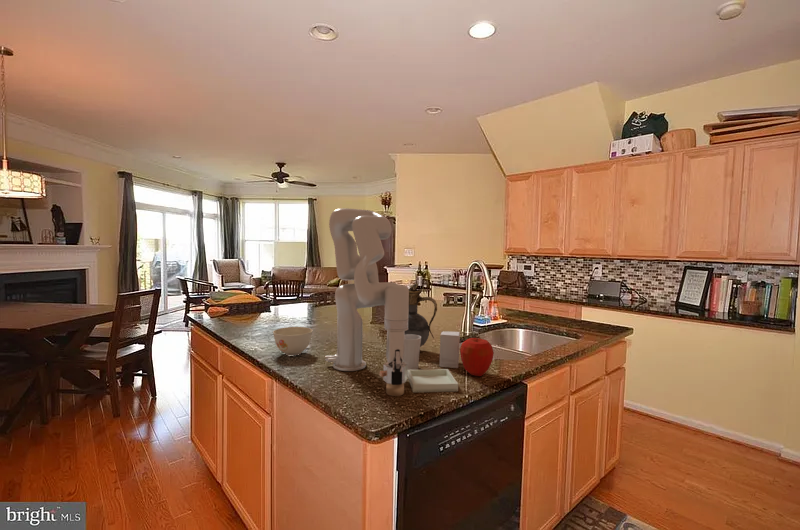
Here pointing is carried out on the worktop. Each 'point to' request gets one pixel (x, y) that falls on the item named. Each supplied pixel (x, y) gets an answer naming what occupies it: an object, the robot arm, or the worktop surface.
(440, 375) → the tray
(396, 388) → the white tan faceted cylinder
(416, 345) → the cup
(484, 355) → the apple
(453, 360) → the supplement box
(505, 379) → the worktop surface
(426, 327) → the pitcher
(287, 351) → the bowl
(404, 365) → the ring
